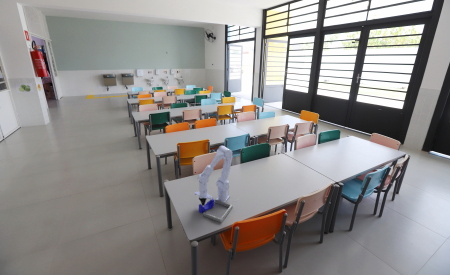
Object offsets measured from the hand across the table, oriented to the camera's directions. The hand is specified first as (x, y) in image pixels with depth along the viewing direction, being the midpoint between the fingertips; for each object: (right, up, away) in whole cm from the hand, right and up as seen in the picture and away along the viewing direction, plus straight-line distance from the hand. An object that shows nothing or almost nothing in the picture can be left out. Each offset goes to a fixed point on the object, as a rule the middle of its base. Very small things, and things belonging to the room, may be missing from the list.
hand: (203, 204), depth 166 cm
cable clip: (+2, -2, -2) cm, 3 cm away
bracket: (+11, -4, -5) cm, 12 cm away
